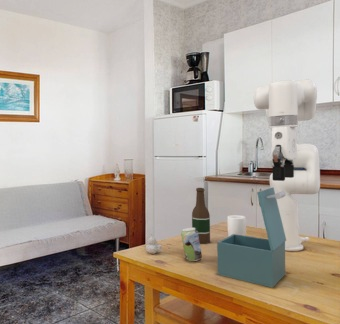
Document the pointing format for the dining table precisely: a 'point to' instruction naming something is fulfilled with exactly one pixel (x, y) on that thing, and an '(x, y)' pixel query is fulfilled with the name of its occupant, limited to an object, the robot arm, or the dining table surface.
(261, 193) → the teal box lid
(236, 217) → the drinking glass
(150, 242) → the white figurine
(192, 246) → the beverage can
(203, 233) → the beer bottle
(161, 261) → the dining table surface
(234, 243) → the teal rectangular box
